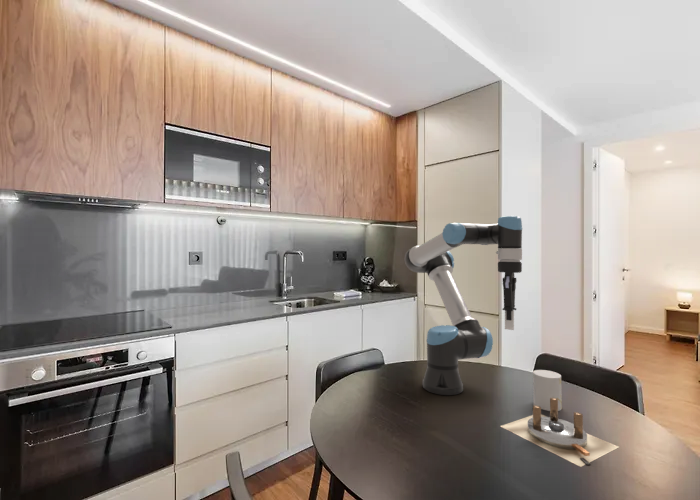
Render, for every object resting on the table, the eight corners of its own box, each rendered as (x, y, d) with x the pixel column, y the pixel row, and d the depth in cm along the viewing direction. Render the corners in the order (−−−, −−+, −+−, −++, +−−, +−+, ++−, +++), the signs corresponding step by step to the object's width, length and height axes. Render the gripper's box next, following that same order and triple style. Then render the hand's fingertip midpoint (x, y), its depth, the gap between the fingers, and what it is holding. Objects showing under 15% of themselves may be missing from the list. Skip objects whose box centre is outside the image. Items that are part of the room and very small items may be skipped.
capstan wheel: (559, 459, 82) (559, 427, 83) (517, 423, 101) (517, 396, 101) (614, 457, 83) (614, 425, 84) (562, 421, 102) (562, 395, 102)
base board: (499, 431, 99) (499, 425, 99) (538, 417, 108) (538, 412, 108) (583, 474, 79) (583, 467, 80) (622, 454, 88) (622, 447, 88)
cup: (566, 416, 109) (565, 379, 109) (538, 414, 110) (537, 377, 111) (556, 406, 117) (555, 370, 117) (530, 404, 118) (529, 369, 119)
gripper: (501, 260, 126) (500, 324, 126) (494, 261, 115) (494, 331, 115) (523, 260, 122) (523, 327, 122) (519, 261, 111) (519, 334, 111)
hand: (509, 329), depth 118 cm, fingers closed
